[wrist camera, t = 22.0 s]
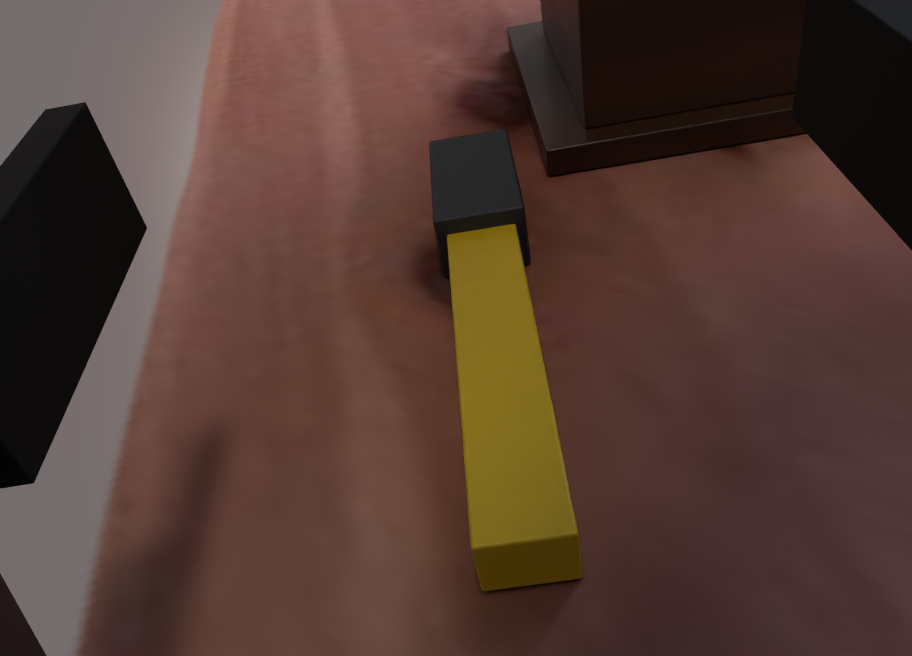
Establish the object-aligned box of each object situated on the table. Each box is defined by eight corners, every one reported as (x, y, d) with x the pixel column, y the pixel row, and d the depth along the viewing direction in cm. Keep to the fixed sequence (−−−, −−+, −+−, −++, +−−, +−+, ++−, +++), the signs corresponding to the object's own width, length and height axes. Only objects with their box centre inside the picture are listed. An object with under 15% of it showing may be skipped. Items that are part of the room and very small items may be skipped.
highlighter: (598, 577, 15) (594, 515, 14) (466, 595, 15) (449, 535, 14) (513, 180, 27) (506, 127, 26) (438, 192, 27) (428, 140, 26)
